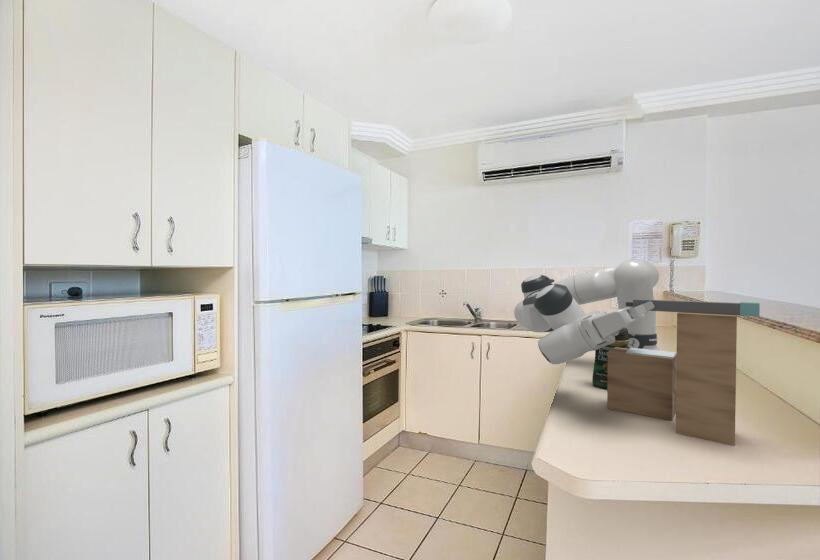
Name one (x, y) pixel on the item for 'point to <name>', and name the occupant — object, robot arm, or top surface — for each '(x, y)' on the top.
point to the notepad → (651, 353)
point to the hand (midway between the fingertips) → (654, 303)
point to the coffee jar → (602, 358)
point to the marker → (701, 307)
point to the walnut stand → (683, 379)
